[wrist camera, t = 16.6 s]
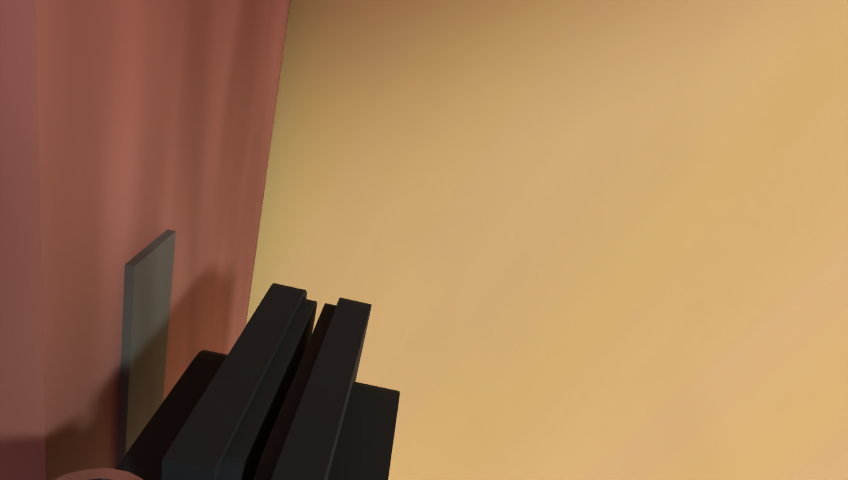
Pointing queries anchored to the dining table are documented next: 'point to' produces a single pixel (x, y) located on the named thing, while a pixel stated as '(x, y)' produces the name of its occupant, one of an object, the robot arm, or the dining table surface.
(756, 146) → the dining table surface
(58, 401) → the drawer
